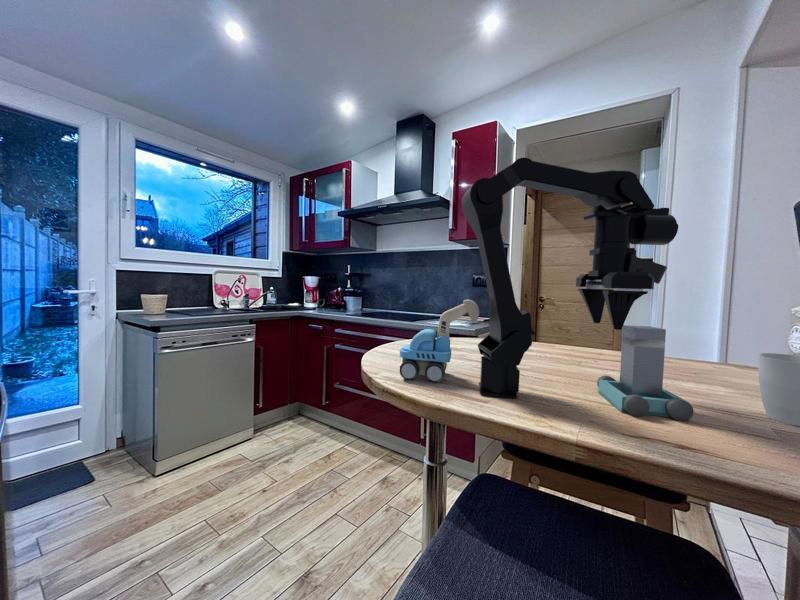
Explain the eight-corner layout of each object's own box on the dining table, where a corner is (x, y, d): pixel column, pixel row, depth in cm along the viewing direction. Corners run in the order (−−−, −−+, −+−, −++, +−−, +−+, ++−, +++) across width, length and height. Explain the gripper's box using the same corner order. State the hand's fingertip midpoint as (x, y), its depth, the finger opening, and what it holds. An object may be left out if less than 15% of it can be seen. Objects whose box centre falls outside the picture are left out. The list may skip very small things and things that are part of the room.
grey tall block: (631, 403, 55) (635, 328, 54) (618, 395, 59) (622, 325, 59) (661, 406, 54) (665, 329, 53) (646, 397, 58) (650, 326, 58)
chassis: (625, 415, 51) (626, 395, 51) (595, 390, 63) (596, 374, 63) (693, 422, 50) (695, 401, 49) (650, 395, 61) (651, 378, 61)
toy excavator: (476, 387, 64) (480, 301, 63) (395, 379, 67) (397, 298, 66) (476, 375, 72) (479, 299, 71) (403, 369, 76) (405, 296, 74)
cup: (851, 436, 46) (859, 368, 45) (776, 426, 49) (783, 361, 48) (802, 414, 54) (808, 355, 53) (740, 407, 56) (745, 351, 56)
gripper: (695, 236, 50) (688, 336, 51) (634, 248, 68) (629, 322, 69) (615, 237, 52) (609, 332, 53) (576, 248, 70) (573, 319, 71)
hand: (606, 326), depth 61 cm, fingers open, 9 cm apart
